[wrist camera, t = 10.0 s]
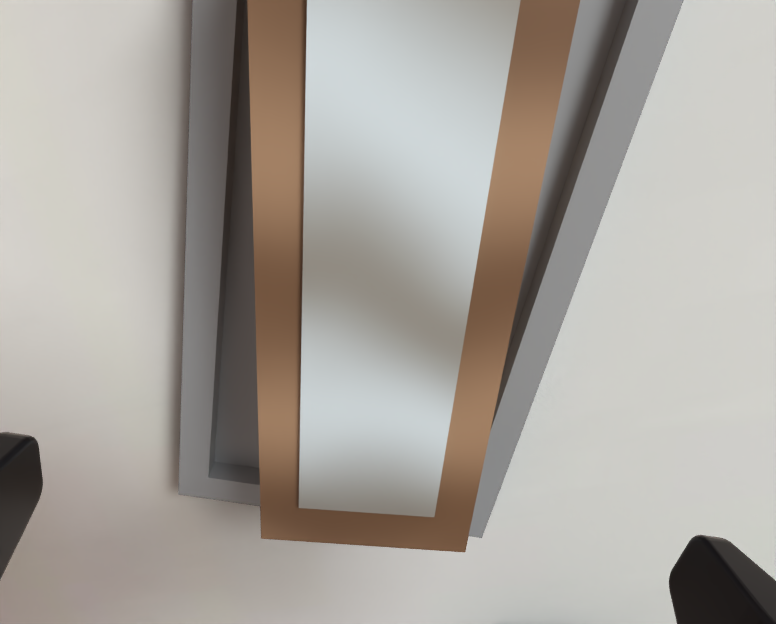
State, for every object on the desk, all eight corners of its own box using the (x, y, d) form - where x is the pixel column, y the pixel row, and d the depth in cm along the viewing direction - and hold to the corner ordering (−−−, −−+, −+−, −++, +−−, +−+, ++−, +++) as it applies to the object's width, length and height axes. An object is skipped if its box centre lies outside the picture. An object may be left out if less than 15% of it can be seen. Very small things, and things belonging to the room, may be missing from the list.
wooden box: (453, 458, 21) (465, 556, 18) (283, 446, 21) (260, 542, 17) (548, -77, 14) (604, -102, 10) (284, -104, 13) (241, -139, 10)
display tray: (477, 512, 23) (481, 537, 22) (188, 470, 22) (178, 494, 21) (721, -164, 13) (750, -177, 12) (218, -287, 12) (201, -313, 11)
